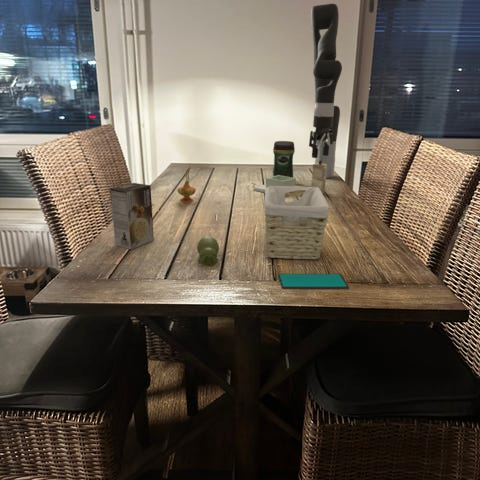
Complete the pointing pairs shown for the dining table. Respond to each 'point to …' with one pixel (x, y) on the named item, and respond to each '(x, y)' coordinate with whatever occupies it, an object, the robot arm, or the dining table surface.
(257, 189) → the stand
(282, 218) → the storage basket
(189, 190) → the magic lamp
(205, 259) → the green rounded piece
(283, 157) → the coffee jar
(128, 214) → the coffee box
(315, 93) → the robot arm
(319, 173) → the beige long rectangular block
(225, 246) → the dining table surface
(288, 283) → the smartphone
